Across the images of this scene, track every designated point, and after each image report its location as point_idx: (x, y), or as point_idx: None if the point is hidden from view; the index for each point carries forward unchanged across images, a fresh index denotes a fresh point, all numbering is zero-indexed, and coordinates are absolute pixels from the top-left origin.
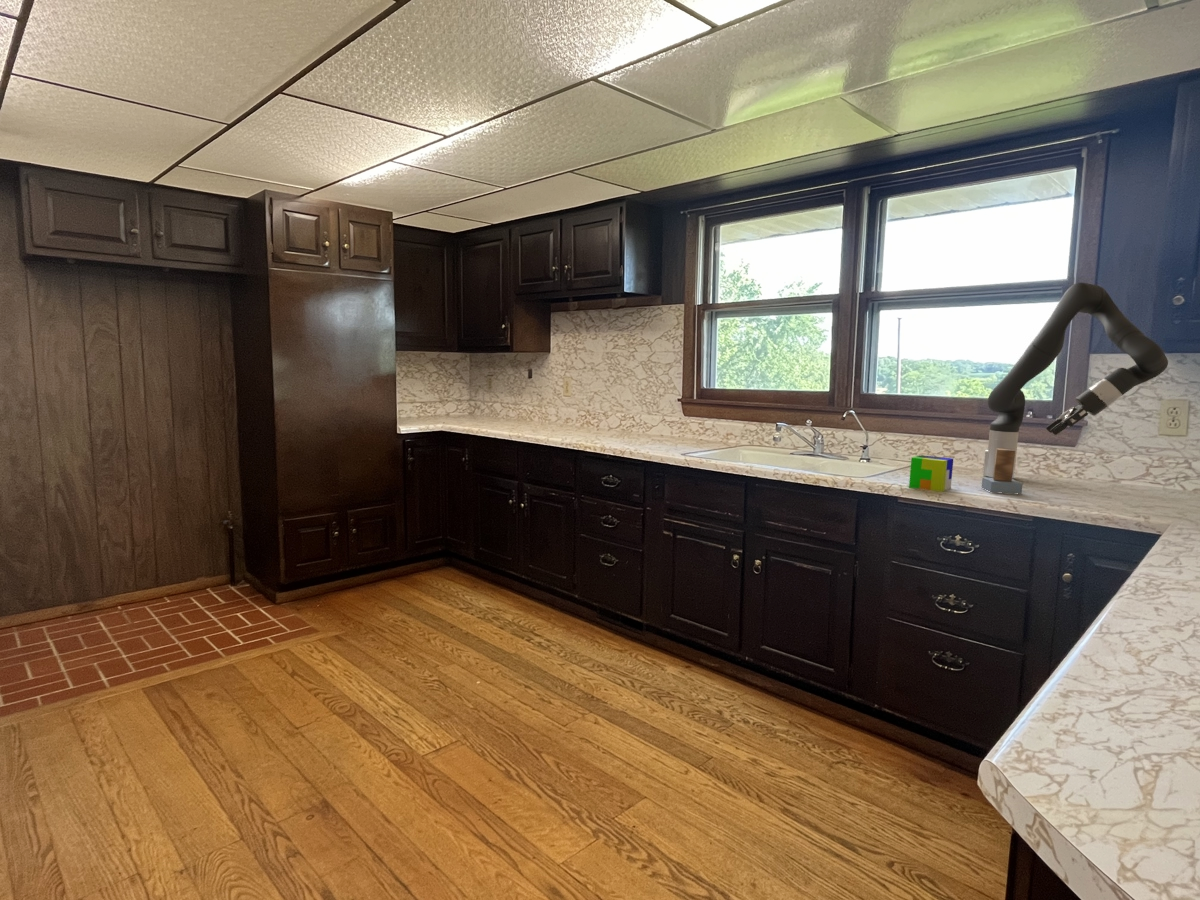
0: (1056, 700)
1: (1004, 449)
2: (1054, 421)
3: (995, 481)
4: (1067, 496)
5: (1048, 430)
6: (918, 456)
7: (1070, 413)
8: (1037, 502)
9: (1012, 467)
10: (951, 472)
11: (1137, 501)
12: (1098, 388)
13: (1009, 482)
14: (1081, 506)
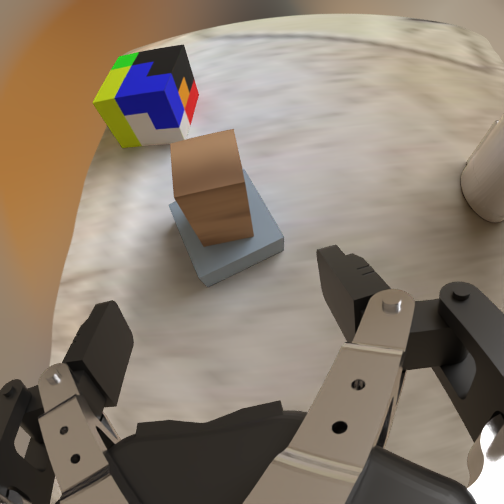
0: None
1: (206, 156)
2: (353, 288)
3: (179, 211)
4: (283, 398)
5: (320, 273)
6: (151, 51)
7: (55, 457)
8: None
9: (192, 225)
10: (169, 117)
11: None
12: None
13: (188, 244)
14: (124, 427)
